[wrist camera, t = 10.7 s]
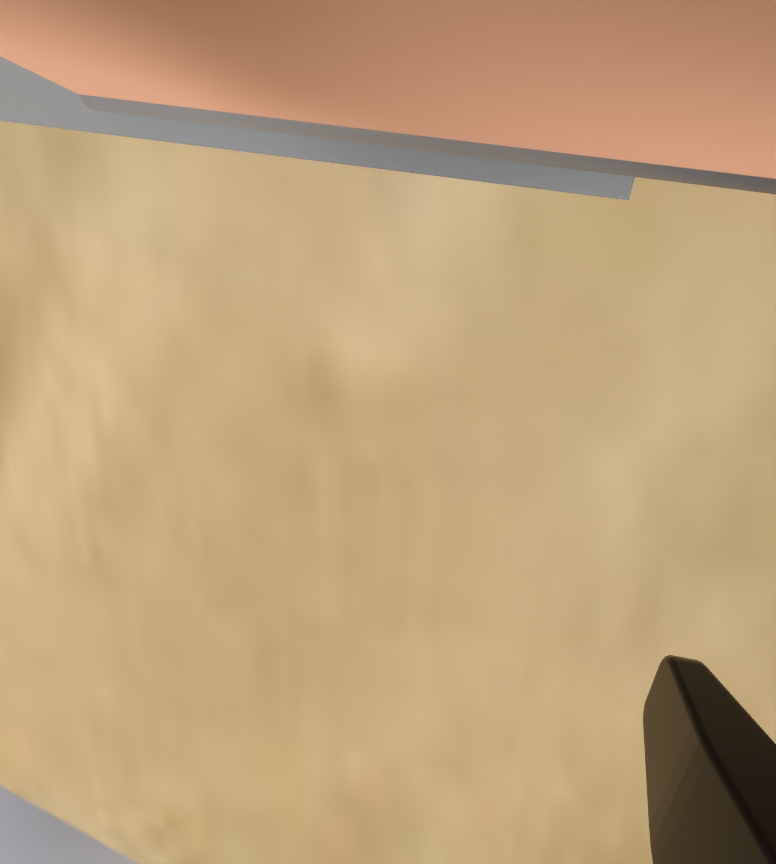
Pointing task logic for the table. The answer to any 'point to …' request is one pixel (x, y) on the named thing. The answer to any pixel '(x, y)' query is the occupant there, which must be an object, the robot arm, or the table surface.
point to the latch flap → (438, 75)
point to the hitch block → (281, 141)
